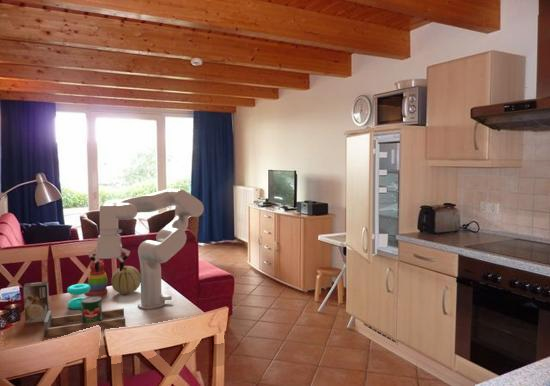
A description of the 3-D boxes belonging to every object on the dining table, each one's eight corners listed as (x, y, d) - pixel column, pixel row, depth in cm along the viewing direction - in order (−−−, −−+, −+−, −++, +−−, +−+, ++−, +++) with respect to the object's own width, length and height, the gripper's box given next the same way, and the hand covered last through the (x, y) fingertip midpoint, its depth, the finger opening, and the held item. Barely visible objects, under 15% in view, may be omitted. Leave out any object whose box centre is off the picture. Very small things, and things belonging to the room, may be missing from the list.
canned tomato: (86, 329, 168) (86, 303, 167) (78, 324, 173) (77, 299, 172) (105, 324, 173) (104, 298, 173) (97, 319, 179) (96, 295, 178)
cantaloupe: (138, 287, 225) (137, 261, 224) (144, 295, 213) (143, 266, 212) (109, 291, 218) (108, 264, 217) (114, 299, 205) (113, 270, 204)
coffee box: (50, 315, 183) (49, 280, 182) (48, 320, 177) (47, 284, 176) (26, 318, 179) (25, 283, 178) (24, 324, 173) (22, 287, 172)
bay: (123, 314, 184) (123, 301, 184) (125, 325, 172) (125, 311, 172) (48, 324, 173) (48, 310, 172) (44, 337, 160) (44, 322, 160)
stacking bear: (102, 289, 223) (102, 257, 221) (112, 292, 216) (111, 259, 215) (83, 293, 214) (82, 260, 213) (92, 297, 208) (91, 263, 207)
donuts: (69, 283, 198) (91, 282, 201) (69, 304, 199) (92, 301, 202) (65, 289, 189) (88, 287, 192) (66, 310, 189) (89, 308, 192)
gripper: (130, 230, 184) (131, 268, 185) (89, 231, 180) (90, 269, 181) (128, 233, 176) (129, 272, 177) (85, 234, 172) (86, 274, 173)
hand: (109, 270), depth 179 cm, fingers open, 9 cm apart
